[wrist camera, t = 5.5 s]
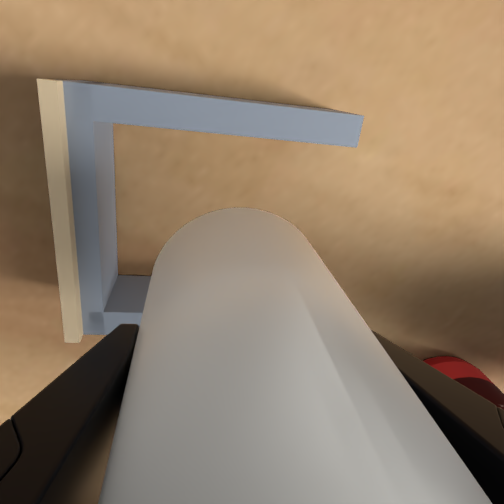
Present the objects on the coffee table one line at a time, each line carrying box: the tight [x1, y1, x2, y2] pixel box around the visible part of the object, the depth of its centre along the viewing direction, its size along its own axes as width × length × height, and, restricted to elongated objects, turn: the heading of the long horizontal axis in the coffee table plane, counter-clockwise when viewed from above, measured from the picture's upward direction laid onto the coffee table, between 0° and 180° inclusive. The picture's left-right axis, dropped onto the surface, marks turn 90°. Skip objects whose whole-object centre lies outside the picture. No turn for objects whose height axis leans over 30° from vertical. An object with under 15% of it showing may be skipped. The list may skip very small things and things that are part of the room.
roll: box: [98, 208, 492, 504], centre depth 7 cm, size 5×5×9 cm
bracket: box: [37, 79, 364, 343], centre depth 17 cm, size 12×10×4 cm
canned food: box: [423, 356, 504, 410], centre depth 22 cm, size 8×8×11 cm
